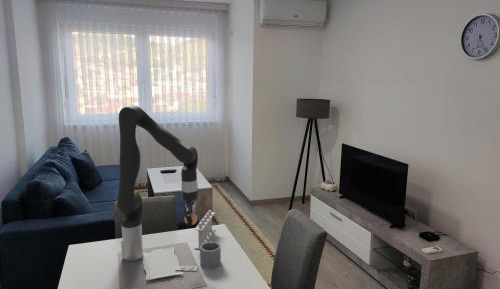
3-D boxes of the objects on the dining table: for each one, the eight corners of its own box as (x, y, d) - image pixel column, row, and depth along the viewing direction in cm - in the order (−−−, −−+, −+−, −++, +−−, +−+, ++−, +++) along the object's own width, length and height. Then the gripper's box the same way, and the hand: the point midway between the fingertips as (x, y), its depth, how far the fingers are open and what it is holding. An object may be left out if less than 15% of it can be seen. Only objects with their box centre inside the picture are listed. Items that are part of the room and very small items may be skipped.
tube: (199, 268, 163) (199, 250, 161) (202, 258, 172) (202, 241, 170) (219, 269, 163) (218, 251, 161) (221, 259, 172) (221, 242, 170)
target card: (175, 270, 161) (175, 269, 161) (177, 266, 165) (177, 265, 165) (196, 271, 161) (196, 270, 161) (198, 266, 165) (198, 265, 164)
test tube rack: (202, 250, 181) (202, 226, 178) (194, 249, 182) (194, 225, 179) (215, 229, 205) (215, 208, 203) (208, 229, 206) (207, 208, 203)
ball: (183, 227, 163) (183, 215, 162) (186, 222, 169) (185, 210, 167) (196, 227, 162) (195, 215, 161) (198, 222, 168) (198, 210, 167)
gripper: (185, 184, 169) (186, 217, 173) (178, 194, 155) (179, 229, 158) (200, 184, 169) (201, 217, 172) (194, 194, 155) (196, 229, 158)
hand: (191, 222), depth 165 cm, fingers closed on ball, 6 cm apart
